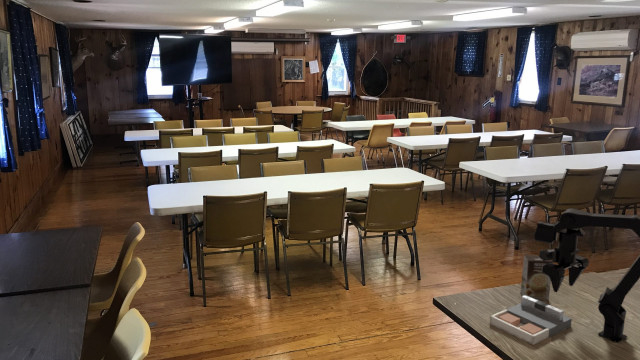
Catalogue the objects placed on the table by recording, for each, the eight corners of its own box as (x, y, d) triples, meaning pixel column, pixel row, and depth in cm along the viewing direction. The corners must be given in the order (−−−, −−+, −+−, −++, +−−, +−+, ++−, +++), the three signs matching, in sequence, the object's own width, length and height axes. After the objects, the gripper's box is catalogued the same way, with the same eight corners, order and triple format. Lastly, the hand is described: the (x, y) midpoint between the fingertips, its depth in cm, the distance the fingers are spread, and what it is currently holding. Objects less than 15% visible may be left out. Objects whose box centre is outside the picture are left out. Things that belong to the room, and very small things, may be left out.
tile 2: (528, 328, 172) (529, 322, 171) (541, 334, 167) (542, 329, 167) (519, 332, 169) (520, 326, 168) (532, 338, 165) (533, 333, 164)
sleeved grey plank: (524, 303, 184) (525, 295, 184) (563, 320, 172) (564, 310, 171) (520, 305, 183) (521, 296, 182) (559, 322, 171) (560, 312, 170)
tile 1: (507, 318, 179) (508, 313, 178) (519, 323, 175) (520, 318, 174) (498, 322, 176) (498, 316, 176) (510, 327, 172) (511, 322, 172)
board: (527, 307, 188) (528, 300, 187) (571, 326, 174) (571, 318, 173) (505, 317, 181) (506, 309, 180) (548, 337, 167) (549, 328, 166)
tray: (505, 317, 181) (505, 309, 180) (548, 337, 167) (549, 329, 166) (489, 323, 176) (490, 315, 175) (532, 345, 162) (533, 336, 162)
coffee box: (525, 299, 195) (528, 260, 191) (520, 292, 201) (523, 254, 197) (549, 300, 194) (553, 261, 190) (543, 293, 200) (547, 255, 197)
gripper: (561, 234, 182) (557, 275, 185) (529, 244, 172) (526, 287, 175) (591, 243, 173) (586, 285, 176) (560, 254, 163) (555, 298, 166)
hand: (563, 288), depth 173 cm, fingers open, 9 cm apart
